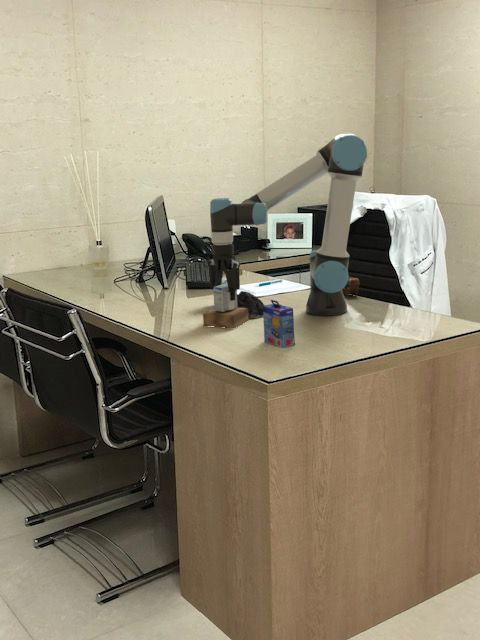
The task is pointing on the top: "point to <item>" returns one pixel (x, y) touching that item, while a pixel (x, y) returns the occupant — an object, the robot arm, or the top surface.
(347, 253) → the robot arm
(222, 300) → the medicine box
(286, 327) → the ink cartridge box
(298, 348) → the top surface
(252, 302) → the black rock
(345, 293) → the decorative turtle
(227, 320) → the walnut desk box
